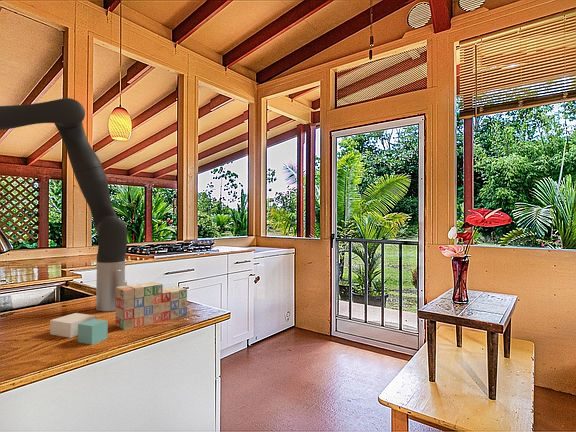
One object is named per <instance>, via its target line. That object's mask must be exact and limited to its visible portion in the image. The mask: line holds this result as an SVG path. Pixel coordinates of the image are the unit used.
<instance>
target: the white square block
mask: <svg viewBox="0 0 576 432" xmlns="http://www.w3.org/2000/svg"><path fill="white" fill-rule="evenodd" d="M92 319H96V315H94V314H93V315H92V314H87V313H85V314H84V313H79V312H74V313H71V314H67V315H64V316H59V317H57V318H53V319H50V320H49V334H50V335H51V336H56V337H57V336H58V337H63V338H70V339H71V338H74V337H78V324H80V323H83V322H86V321H89V320H92Z"/></svg>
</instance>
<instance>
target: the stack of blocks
mask: <svg viewBox="0 0 576 432" xmlns="http://www.w3.org/2000/svg"><path fill="white" fill-rule="evenodd" d="M163 287H164V286H163V283H160V282H156V281H148V282H140V283H136V284H135V283H134V284H129V285H128V284H127V286H120V287H116V299H115V300H116V303H115V304H116V310H115V326H116V327H117V328H120V329H121V330H122V331H125V330H130V329H135V328H140V327H143V326H149V325H152V324H156V323H160V322H165V321H169V319H170V320H174V319H176V318H177V319H178V318H182V317H186V316H187V315H188V313H187V311H188V291H187V289H188V288H183V287H180V286H173V287H166V288H163Z"/></svg>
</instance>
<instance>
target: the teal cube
mask: <svg viewBox="0 0 576 432" xmlns="http://www.w3.org/2000/svg"><path fill="white" fill-rule="evenodd" d="M108 323H109V322H108V320H105V319H104V320H103V319H99V318H98V319H97V318H95V319H92V320H89V321H86V322H83V323H80V324H78V335H77V343H79V344H80V343H81V344H86V345H95V344H98V343H99V342H102V341H105V340H107V339H108V329H109V328H108Z"/></svg>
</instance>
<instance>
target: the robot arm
mask: <svg viewBox="0 0 576 432" xmlns="http://www.w3.org/2000/svg"><path fill="white" fill-rule="evenodd" d="M85 116H86V111H85V108H84V106H83V104H82V103H81V102H79V101H78V100H76V99H74V98H71V97H64V98H63V97H62V98H59V99H53V100H50V101H44V102H37V103H35V102H34V103H29V104H16V105H14V104H13V105H0V131H4V130H11V129H16V128H21V127H25V126H32V125H40V124H54V125H55V127H56V129H57V131H58V134H59V135H60V136H61V137H60V138H61V139H62V140H63V143H64V147H65V148H66V152H67V156H68V159H69V163H70V166H71V168H72V172H73V174H74V176H75V177H74V178H75V180H76V182H77V185H78V186H79V188H80V191H81V193H82V195H83V197H84V199H85V201H86V203H87V206H88V207H89V209H90V213H91V216H92V219H93V220H92V221H93V223H94V228H95V232H96V235H97V237H98V241H97V242H98V245H97V246H98V247H97V249H98V250H97V253H96V286H95V287H96V288H95V289H96V291H95V293H96V294H95V295H96V296H95V300H96V301H95V306H96V307H95V308H96V309H95V310H96V311H98V312H114V311H115V312H116V304H115V303H116V300H115V299H116V287H120V286H127V285H128V281H127V280H126V255H127V247H128V228H127V227H128V226H127V224H126V223H125V221H124V220H122V218H121V219H120V218H119V217H118V216H117V215H118V214H116V211H115V209H114V207H113V205H112V201H111V196H110V189H109V187H110V186H109V182H108V178H107V175H106V172H105V170H104V167H103V164H102V162H101V161H100V158H99V157H98V154H97V153H96V152H95V151H94V149H93V147H92V146H91V144H90V142H89V141H88V138H87V136H86V131H85V129H84V125H83V121H84V119H85Z"/></svg>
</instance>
